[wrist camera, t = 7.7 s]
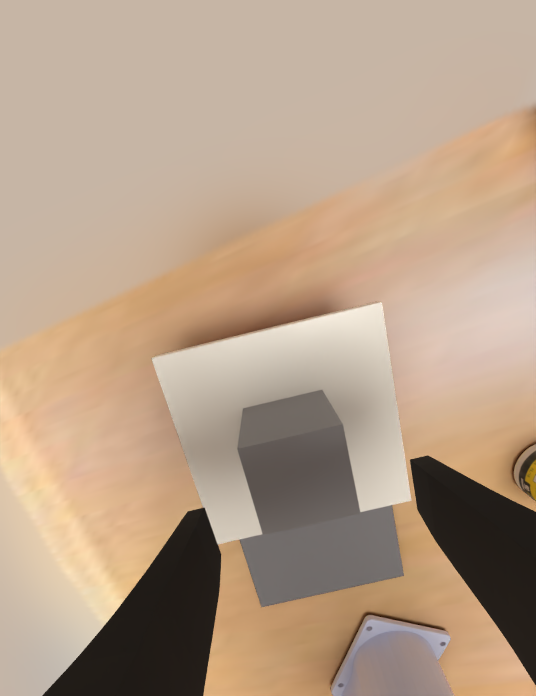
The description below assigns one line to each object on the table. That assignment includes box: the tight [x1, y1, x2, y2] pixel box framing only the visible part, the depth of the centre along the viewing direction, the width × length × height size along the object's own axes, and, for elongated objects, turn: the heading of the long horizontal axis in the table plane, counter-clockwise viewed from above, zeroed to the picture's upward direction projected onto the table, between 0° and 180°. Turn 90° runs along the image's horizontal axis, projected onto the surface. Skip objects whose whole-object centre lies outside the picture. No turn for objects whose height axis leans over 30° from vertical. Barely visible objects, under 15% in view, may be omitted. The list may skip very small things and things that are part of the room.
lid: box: [151, 301, 411, 544], centre depth 13 cm, size 11×11×4 cm
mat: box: [239, 505, 404, 607], centre depth 22 cm, size 12×12×1 cm
